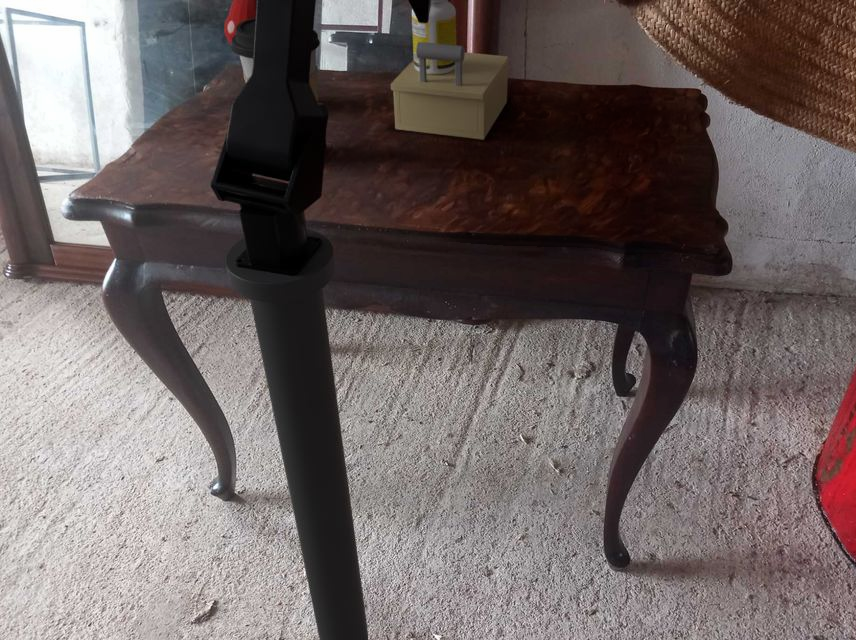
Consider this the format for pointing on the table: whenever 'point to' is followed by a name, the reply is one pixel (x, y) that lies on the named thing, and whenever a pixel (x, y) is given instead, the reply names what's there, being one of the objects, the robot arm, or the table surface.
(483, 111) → the wooden box
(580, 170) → the table surface
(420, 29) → the supplement bottle
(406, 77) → the lid
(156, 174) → the table surface
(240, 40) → the coffee cup
